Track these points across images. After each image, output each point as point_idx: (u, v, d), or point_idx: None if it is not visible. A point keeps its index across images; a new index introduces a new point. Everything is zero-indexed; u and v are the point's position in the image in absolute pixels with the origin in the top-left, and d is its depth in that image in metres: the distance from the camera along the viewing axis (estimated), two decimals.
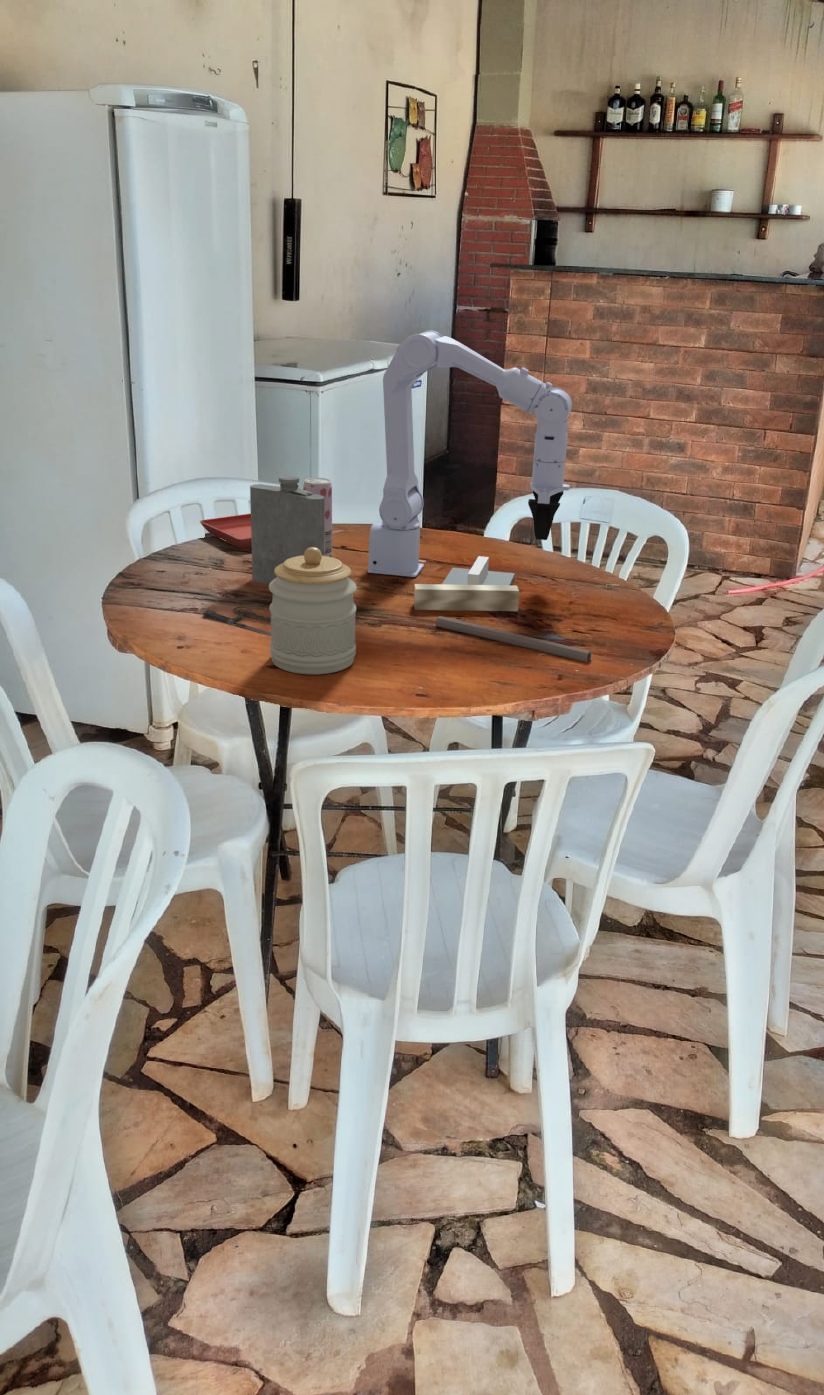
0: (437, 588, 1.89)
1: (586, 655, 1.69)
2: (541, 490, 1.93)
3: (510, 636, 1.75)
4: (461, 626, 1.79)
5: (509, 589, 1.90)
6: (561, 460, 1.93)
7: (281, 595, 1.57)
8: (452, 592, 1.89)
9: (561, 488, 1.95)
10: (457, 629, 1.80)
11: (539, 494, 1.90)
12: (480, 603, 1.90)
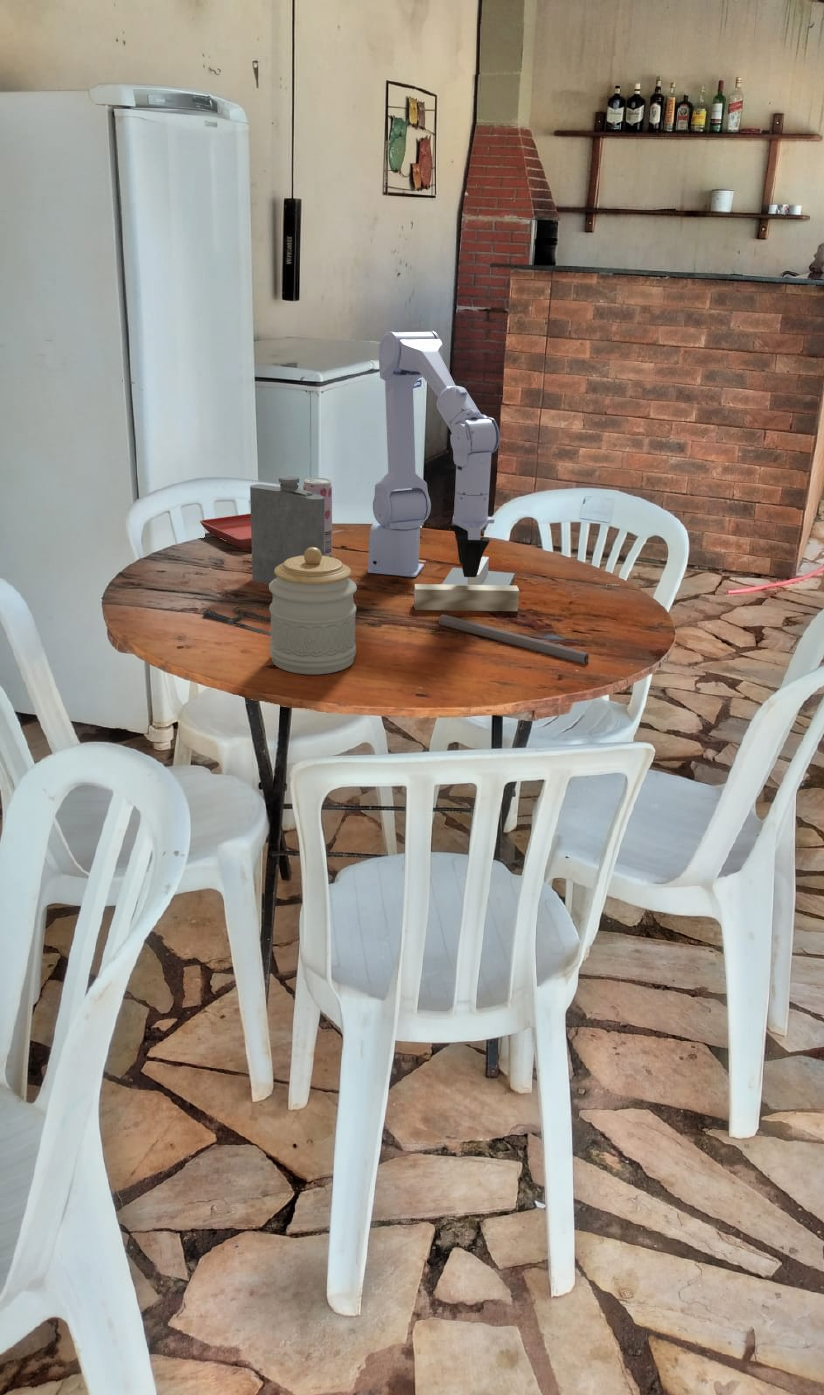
0: (437, 588, 1.89)
1: (583, 657, 1.68)
2: (469, 525, 1.81)
3: (510, 636, 1.75)
4: (463, 625, 1.80)
5: (509, 589, 1.90)
6: (471, 493, 1.81)
7: (281, 595, 1.57)
8: (452, 592, 1.89)
9: (487, 521, 1.84)
10: (459, 627, 1.80)
11: (469, 530, 1.78)
12: (480, 603, 1.90)
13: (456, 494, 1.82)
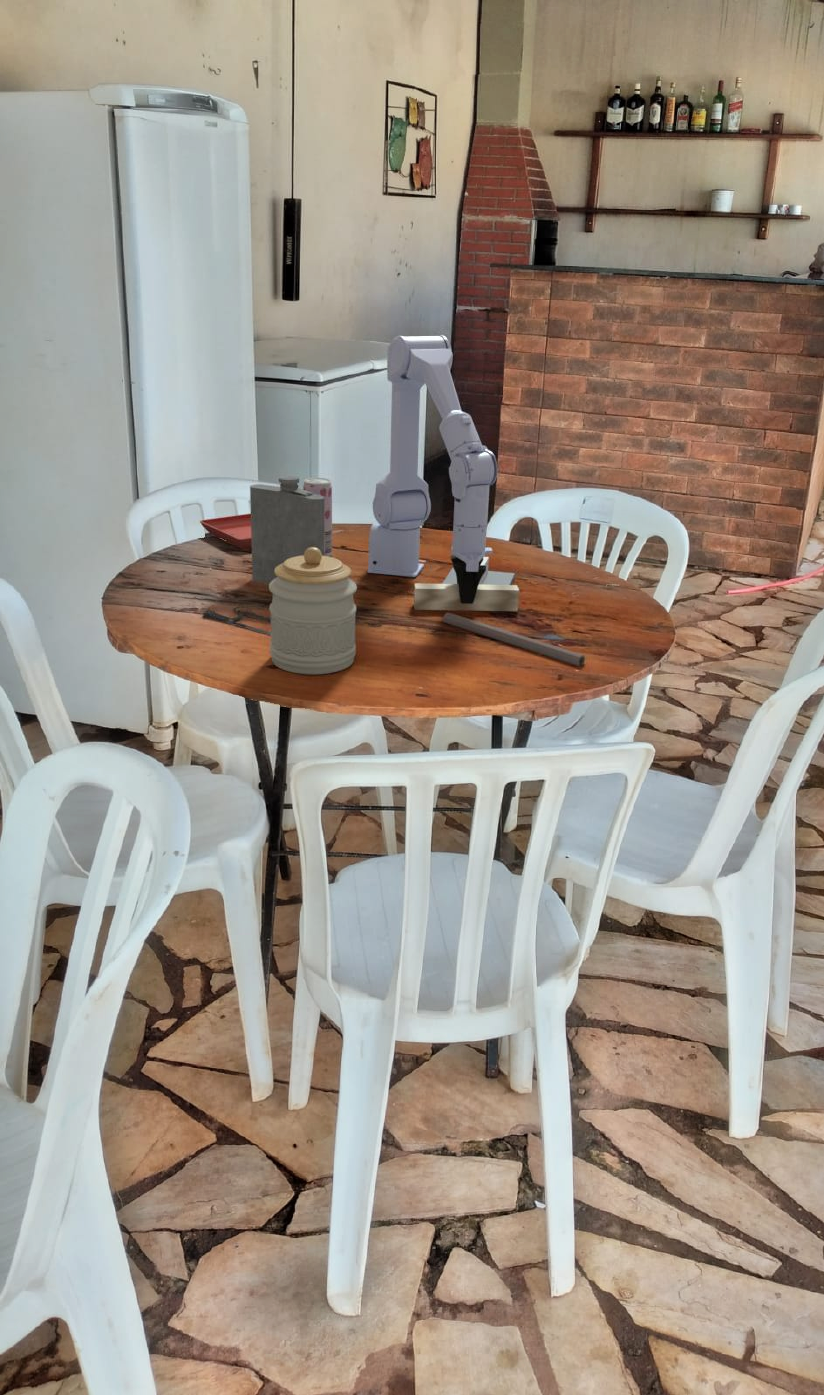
0: (437, 587, 1.89)
1: (578, 659, 1.67)
2: (467, 557, 1.83)
3: (509, 636, 1.75)
4: (466, 623, 1.80)
5: (509, 588, 1.90)
6: (469, 525, 1.83)
7: (281, 595, 1.57)
8: (452, 591, 1.89)
9: (485, 552, 1.86)
10: (462, 626, 1.81)
11: (468, 562, 1.81)
12: (480, 602, 1.90)
13: (454, 526, 1.85)
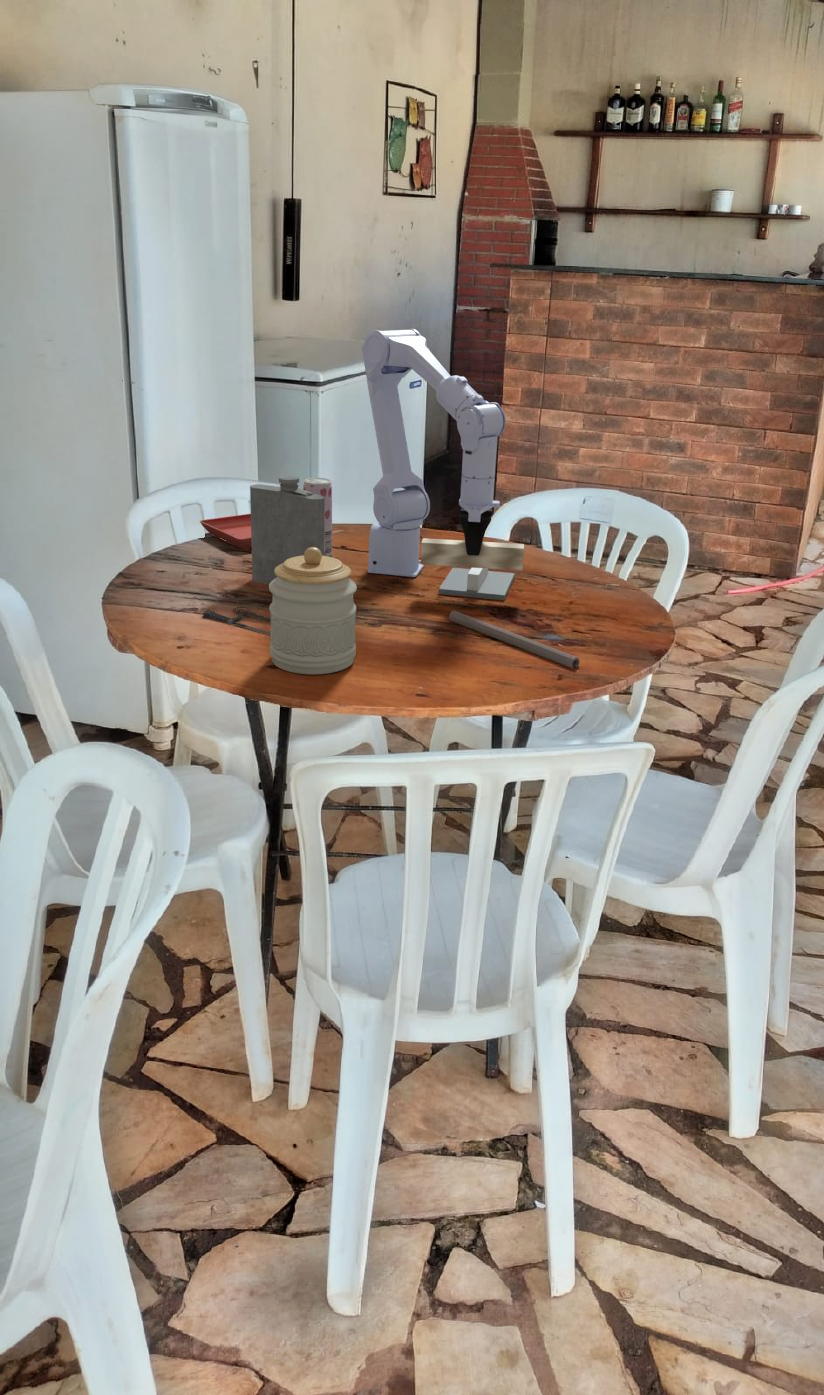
0: (443, 542, 1.93)
1: (571, 661, 1.66)
2: (471, 508, 1.86)
3: (509, 636, 1.75)
4: (469, 622, 1.81)
5: (514, 547, 1.92)
6: (481, 477, 1.86)
7: (281, 595, 1.57)
8: (457, 547, 1.92)
9: (491, 505, 1.89)
10: (466, 624, 1.82)
11: (469, 512, 1.84)
12: (485, 559, 1.93)
13: (462, 477, 1.88)
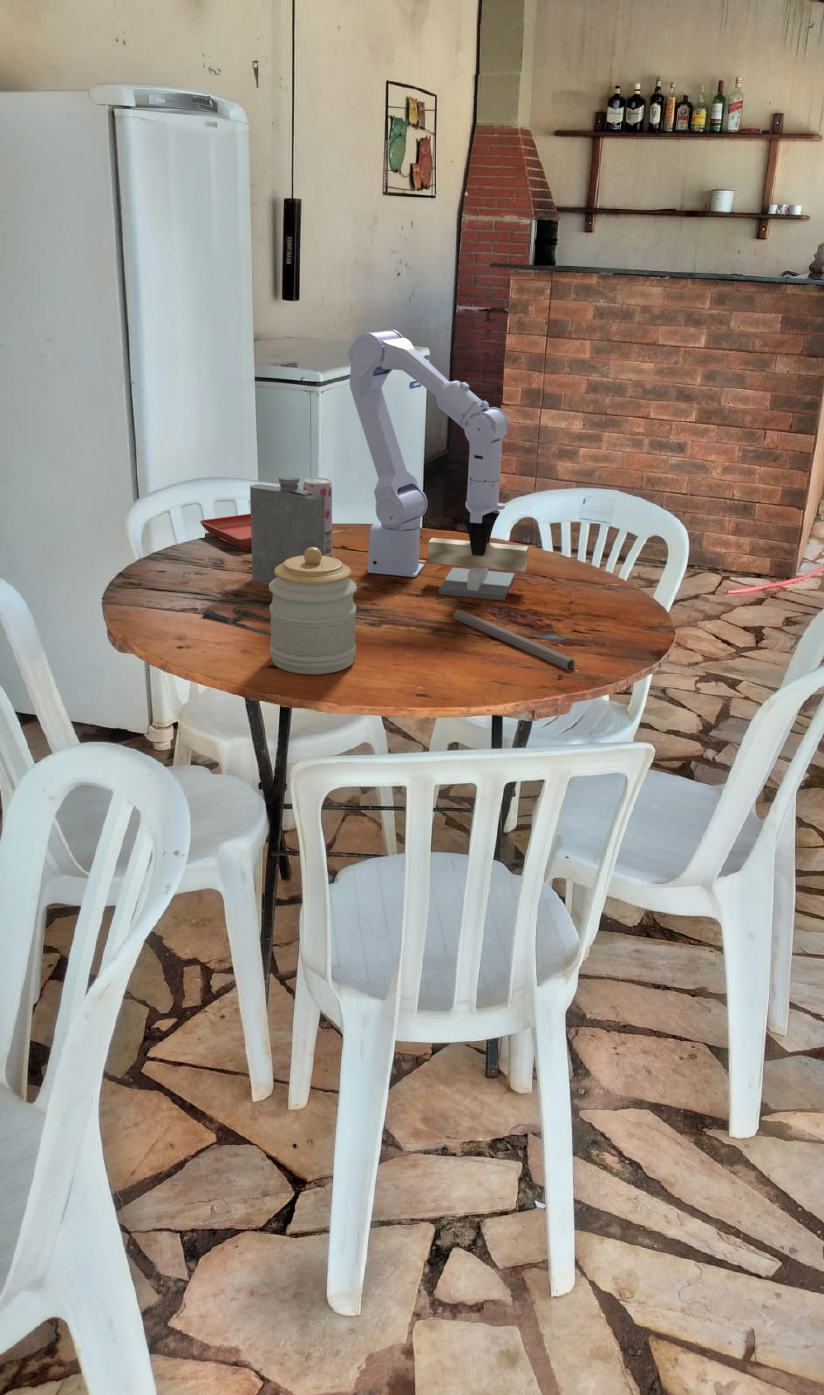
0: (449, 542, 2.00)
1: (566, 662, 1.65)
2: (474, 509, 1.93)
3: (508, 636, 1.75)
4: (472, 621, 1.82)
5: (517, 548, 1.98)
6: (492, 480, 1.93)
7: (281, 595, 1.57)
8: (462, 547, 1.99)
9: (495, 507, 1.95)
10: (469, 623, 1.82)
11: (471, 513, 1.91)
12: (489, 559, 1.99)
13: (468, 480, 1.95)
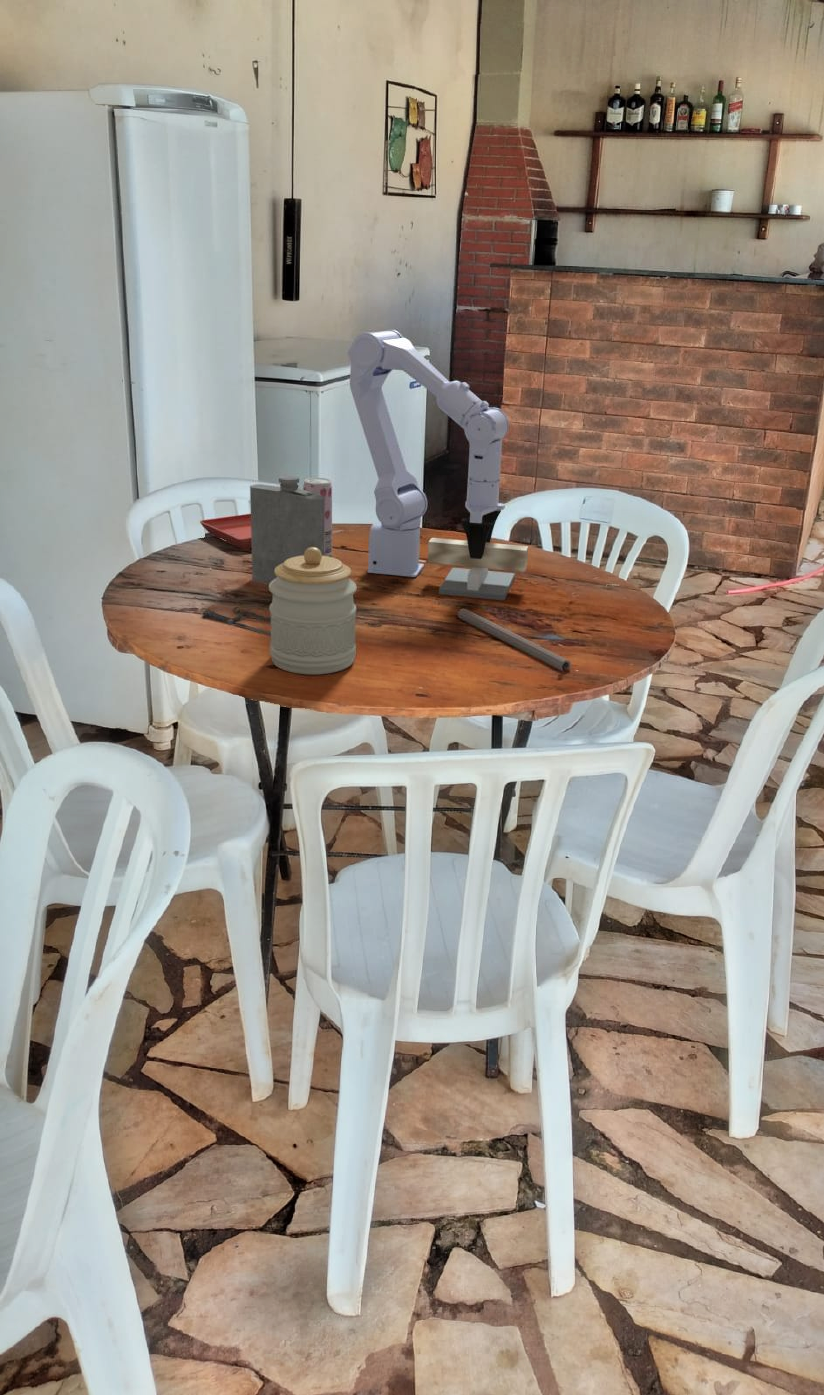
0: (449, 542, 2.00)
1: (561, 663, 1.65)
2: (474, 509, 1.93)
3: (508, 635, 1.75)
4: (475, 620, 1.82)
5: (517, 548, 1.98)
6: (492, 480, 1.93)
7: (281, 595, 1.57)
8: (462, 547, 1.99)
9: (495, 507, 1.95)
10: (472, 622, 1.83)
11: (471, 513, 1.91)
12: (489, 559, 1.99)
13: (468, 480, 1.95)
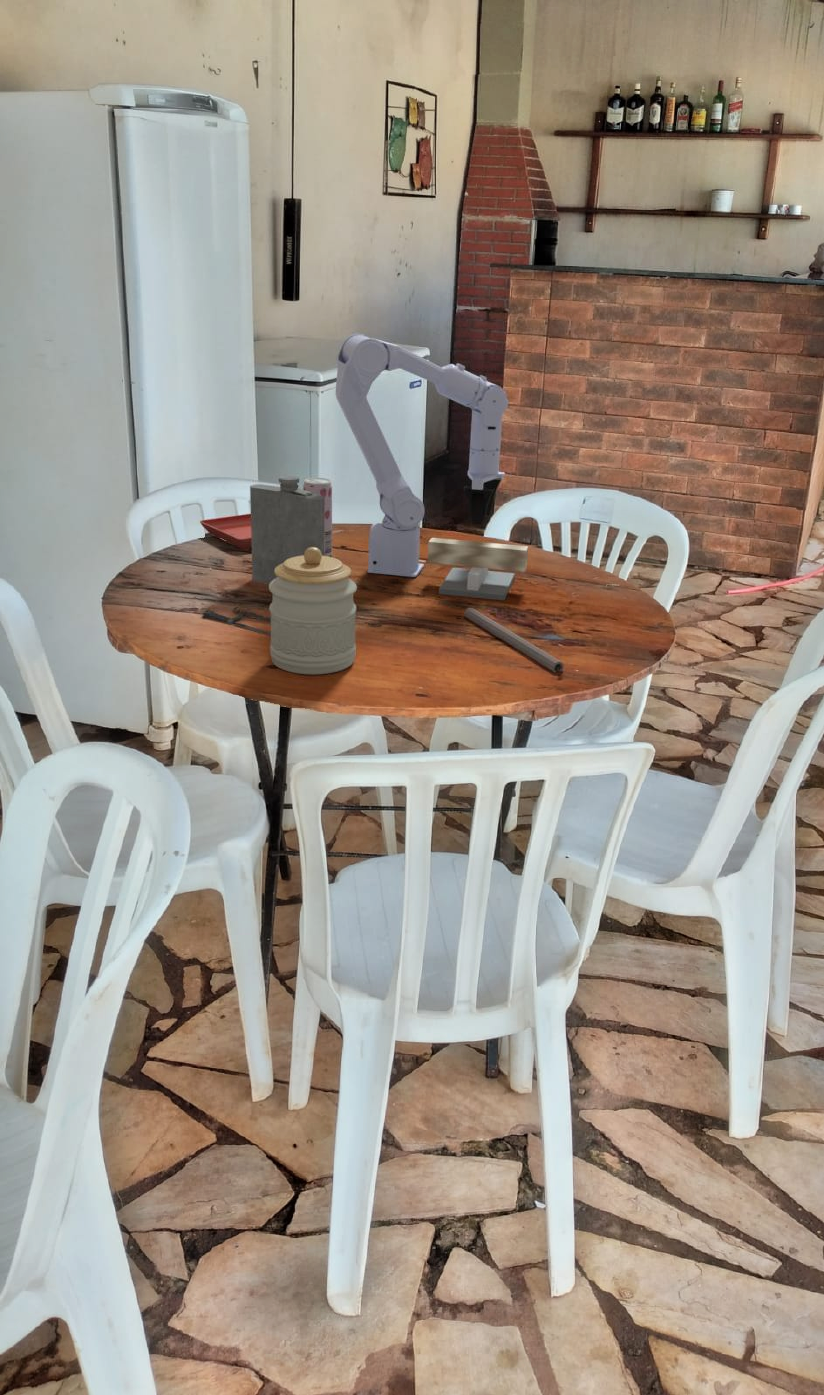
0: (449, 542, 2.00)
1: (553, 665, 1.64)
2: (476, 477, 2.04)
3: (508, 635, 1.75)
4: (479, 619, 1.82)
5: (517, 548, 1.98)
6: (499, 447, 2.05)
7: (281, 595, 1.57)
8: (462, 547, 1.99)
9: (496, 475, 2.06)
10: (476, 622, 1.83)
11: (473, 480, 2.01)
12: (489, 559, 1.99)
13: (470, 449, 2.06)
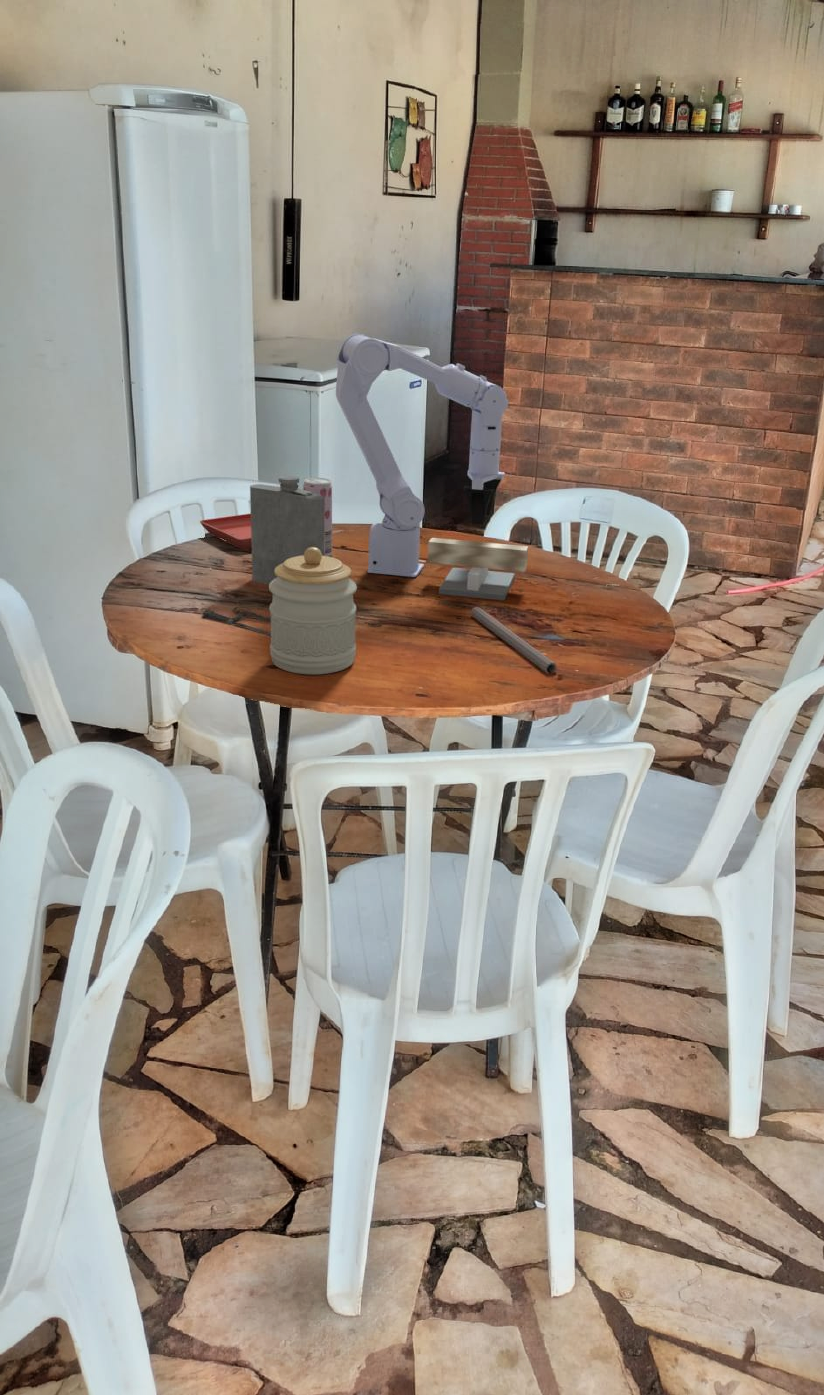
0: (449, 542, 2.00)
1: (546, 665, 1.64)
2: (476, 477, 2.04)
3: (508, 635, 1.75)
4: (483, 619, 1.83)
5: (517, 548, 1.98)
6: (499, 447, 2.05)
7: (281, 595, 1.57)
8: (462, 547, 1.99)
9: (496, 475, 2.06)
10: (481, 621, 1.84)
11: (473, 480, 2.02)
12: (489, 559, 1.99)
13: (470, 449, 2.06)
